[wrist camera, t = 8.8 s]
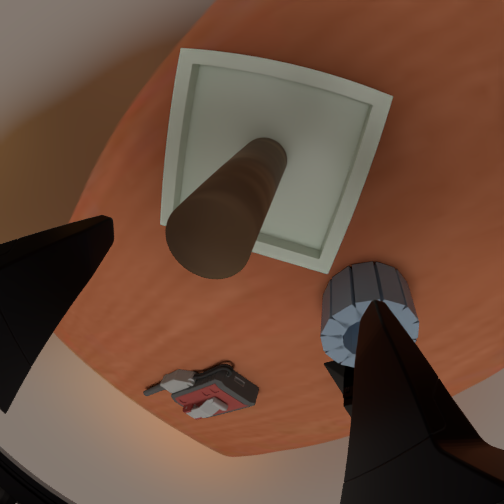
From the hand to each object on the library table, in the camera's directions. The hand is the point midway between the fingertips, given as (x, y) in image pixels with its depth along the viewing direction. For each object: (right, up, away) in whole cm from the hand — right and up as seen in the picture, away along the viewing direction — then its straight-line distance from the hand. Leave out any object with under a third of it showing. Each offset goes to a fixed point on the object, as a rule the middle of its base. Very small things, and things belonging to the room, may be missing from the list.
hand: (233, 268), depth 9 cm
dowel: (+1, +7, +10) cm, 12 cm away
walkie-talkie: (-7, -18, +29) cm, 35 cm away
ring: (+10, -3, +14) cm, 18 cm away
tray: (+1, +7, +10) cm, 12 cm away
